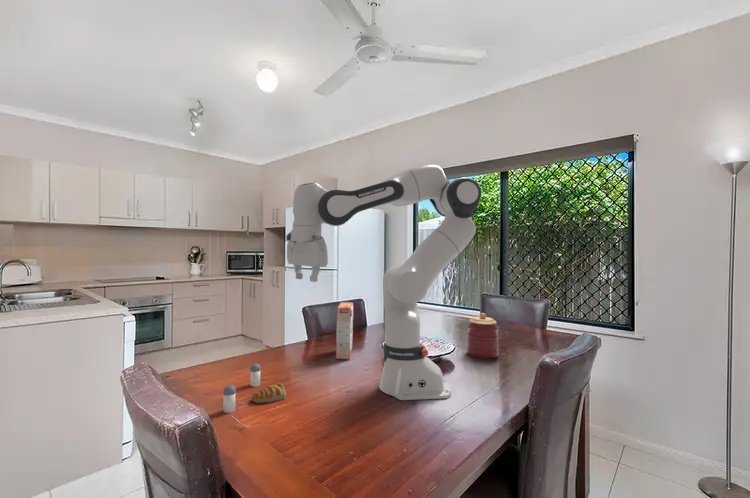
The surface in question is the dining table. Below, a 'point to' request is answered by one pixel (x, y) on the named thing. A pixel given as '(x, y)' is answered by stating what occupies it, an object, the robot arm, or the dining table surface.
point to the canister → (482, 337)
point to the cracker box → (344, 330)
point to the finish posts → (231, 390)
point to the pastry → (269, 394)
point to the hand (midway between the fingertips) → (306, 280)
